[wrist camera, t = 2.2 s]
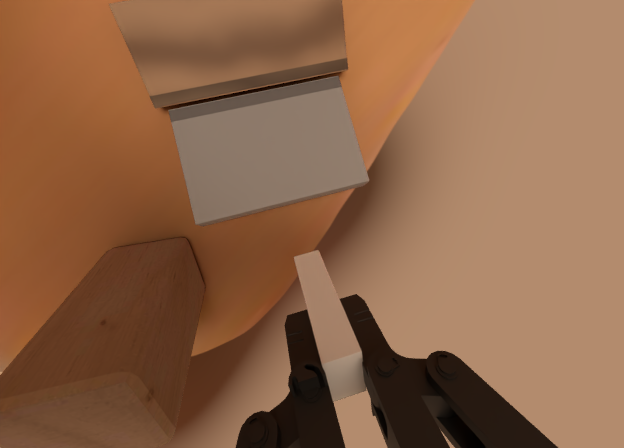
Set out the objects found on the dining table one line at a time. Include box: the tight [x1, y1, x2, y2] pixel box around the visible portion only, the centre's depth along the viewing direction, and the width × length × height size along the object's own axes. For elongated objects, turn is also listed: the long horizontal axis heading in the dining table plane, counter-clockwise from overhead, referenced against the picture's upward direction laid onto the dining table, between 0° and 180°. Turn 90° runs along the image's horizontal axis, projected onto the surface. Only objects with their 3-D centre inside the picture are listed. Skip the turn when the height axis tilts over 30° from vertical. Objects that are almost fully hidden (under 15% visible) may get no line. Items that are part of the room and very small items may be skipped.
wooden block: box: [0, 237, 205, 448], centre depth 27 cm, size 10×10×20 cm
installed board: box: [109, 0, 348, 108], centre depth 25 cm, size 8×20×2 cm, turn 100°
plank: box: [169, 76, 369, 226], centre depth 27 cm, size 12×18×2 cm
